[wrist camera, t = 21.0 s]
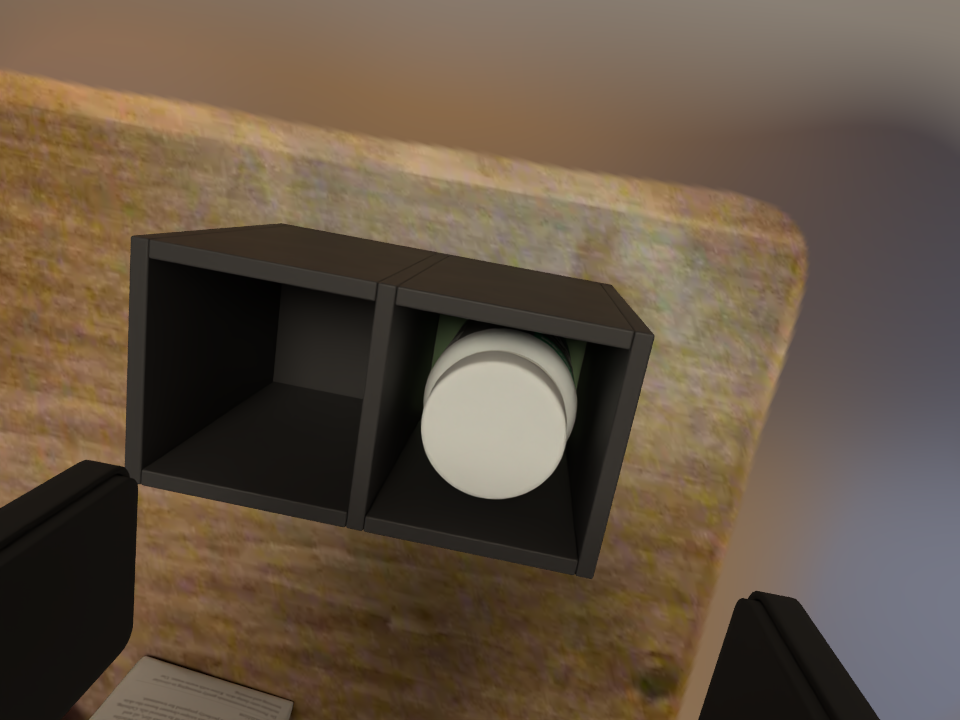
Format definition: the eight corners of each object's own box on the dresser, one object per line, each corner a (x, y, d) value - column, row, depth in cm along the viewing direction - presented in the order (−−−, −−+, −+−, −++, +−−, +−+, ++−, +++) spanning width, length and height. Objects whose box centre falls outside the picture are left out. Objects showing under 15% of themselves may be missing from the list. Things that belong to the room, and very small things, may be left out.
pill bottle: (593, 341, 24) (619, 411, 16) (527, 436, 26) (520, 545, 17) (490, 276, 24) (464, 314, 16) (429, 375, 25) (375, 457, 17)
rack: (266, 386, 27) (123, 481, 18) (280, 223, 25) (129, 235, 16) (574, 447, 26) (593, 580, 17) (612, 285, 24) (655, 335, 15)
